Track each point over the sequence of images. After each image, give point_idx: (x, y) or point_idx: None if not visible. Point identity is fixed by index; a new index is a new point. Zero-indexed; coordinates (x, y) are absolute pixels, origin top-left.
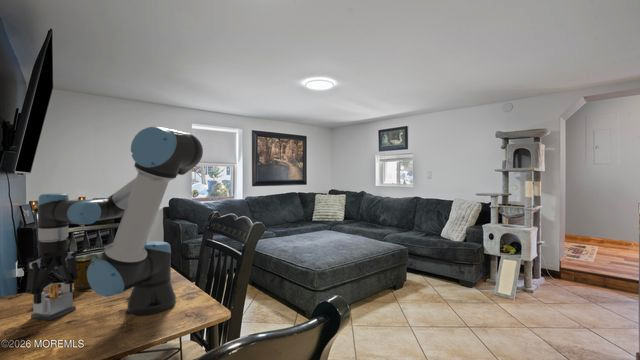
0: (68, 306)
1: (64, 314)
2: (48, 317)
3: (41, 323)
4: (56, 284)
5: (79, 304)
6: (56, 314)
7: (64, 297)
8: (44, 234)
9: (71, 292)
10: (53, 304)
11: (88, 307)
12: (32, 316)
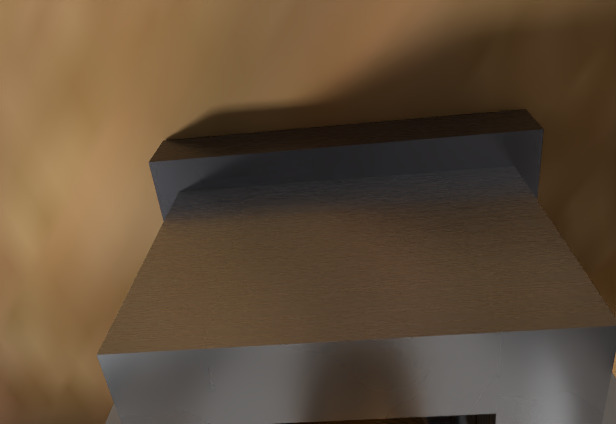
0: (235, 203)
1: (326, 127)
2: (539, 160)
3: (605, 147)
4: None
5: (48, 256)
6: (448, 140)
7: (288, 312)
8: None
9: (110, 368)
10: (511, 263)
11: (21, 39)
12: None
